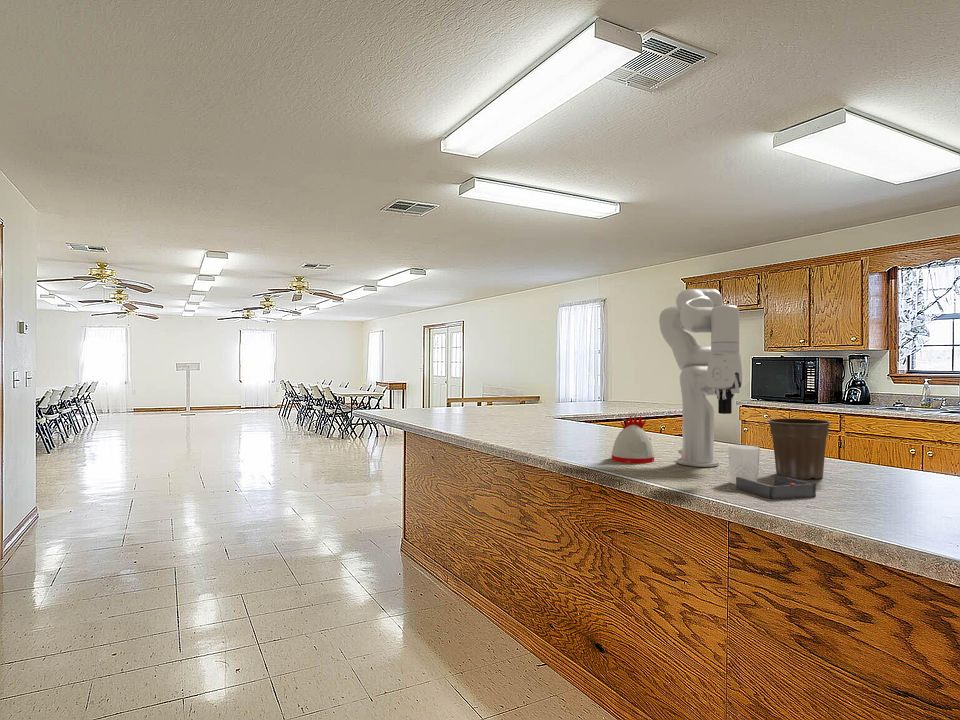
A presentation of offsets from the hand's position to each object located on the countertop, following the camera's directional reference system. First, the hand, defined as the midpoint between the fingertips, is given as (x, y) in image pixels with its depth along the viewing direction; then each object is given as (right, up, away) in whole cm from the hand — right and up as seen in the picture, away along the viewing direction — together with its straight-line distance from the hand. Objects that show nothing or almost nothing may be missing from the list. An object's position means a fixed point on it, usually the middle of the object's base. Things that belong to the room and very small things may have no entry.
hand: (724, 413), depth 177 cm
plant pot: (+23, -19, +4) cm, 30 cm away
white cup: (+2, -19, -7) cm, 20 cm away
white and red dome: (-18, -19, +31) cm, 41 cm away
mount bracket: (+5, -19, -18) cm, 27 cm away
